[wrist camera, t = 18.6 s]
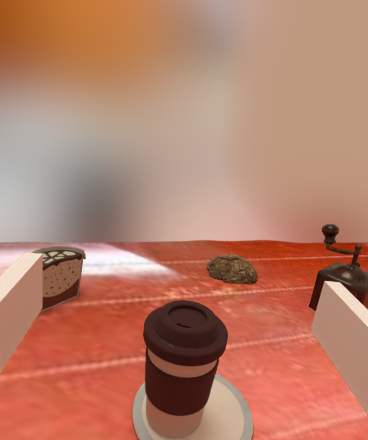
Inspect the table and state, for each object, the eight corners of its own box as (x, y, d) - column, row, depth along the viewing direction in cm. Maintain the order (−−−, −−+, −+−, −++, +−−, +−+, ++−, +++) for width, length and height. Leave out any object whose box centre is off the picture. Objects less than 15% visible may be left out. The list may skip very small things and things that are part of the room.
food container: (65, 282, 73) (66, 240, 70) (84, 293, 69) (86, 249, 66) (9, 304, 63) (8, 255, 60) (28, 317, 59) (27, 267, 56)
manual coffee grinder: (372, 315, 76) (397, 243, 71) (353, 331, 69) (379, 251, 64) (310, 285, 87) (328, 220, 82) (287, 296, 80) (305, 226, 74)
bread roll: (241, 263, 96) (244, 247, 94) (262, 285, 84) (266, 267, 83) (200, 263, 92) (202, 247, 90) (216, 286, 81) (219, 267, 79)
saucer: (125, 473, 36) (125, 468, 36) (137, 367, 51) (138, 362, 51) (267, 479, 38) (268, 474, 37) (238, 374, 53) (239, 369, 53)
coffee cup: (180, 375, 50) (193, 286, 45) (227, 425, 43) (247, 325, 38) (121, 404, 44) (129, 304, 39) (164, 468, 36) (180, 354, 32)
